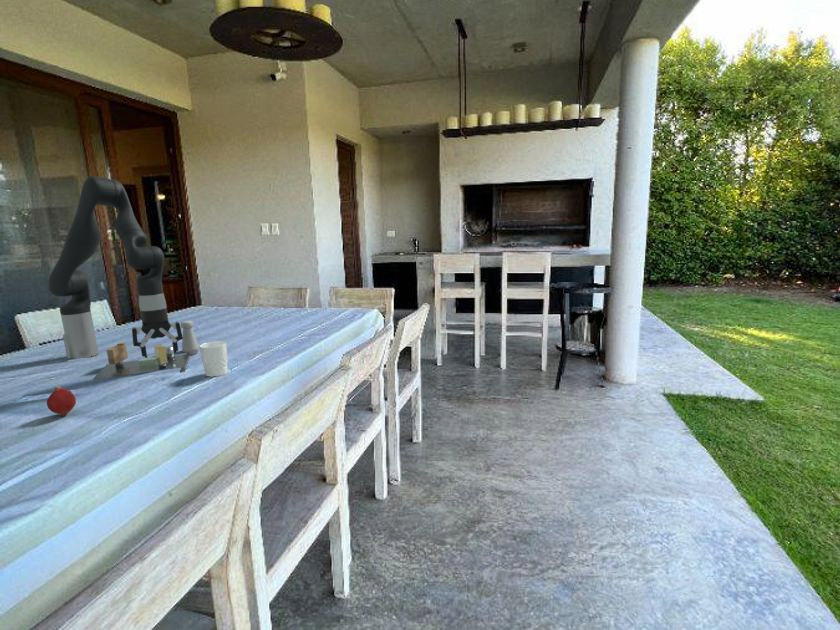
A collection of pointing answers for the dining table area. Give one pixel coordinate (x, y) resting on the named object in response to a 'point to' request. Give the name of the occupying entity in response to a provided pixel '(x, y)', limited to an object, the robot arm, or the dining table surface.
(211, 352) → the white cup
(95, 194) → the robot arm
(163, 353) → the pale yellow sponge
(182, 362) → the level plate
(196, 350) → the salt shaker
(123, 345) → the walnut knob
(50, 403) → the onion
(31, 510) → the dining table surface
